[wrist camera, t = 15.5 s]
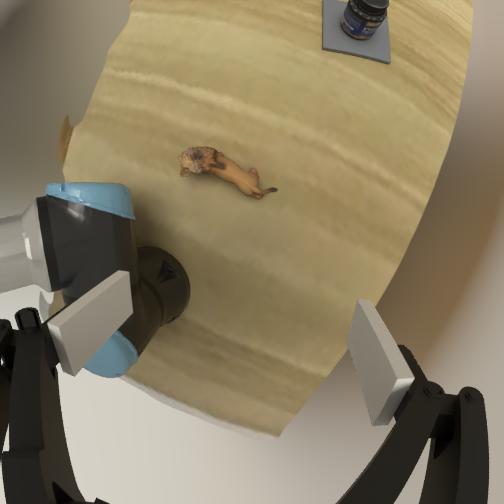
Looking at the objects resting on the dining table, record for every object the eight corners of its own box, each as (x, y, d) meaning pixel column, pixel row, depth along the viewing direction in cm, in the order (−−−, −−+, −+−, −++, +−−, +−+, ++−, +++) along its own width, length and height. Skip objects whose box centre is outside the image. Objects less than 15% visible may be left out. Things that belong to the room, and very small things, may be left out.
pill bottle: (359, 46, 34) (379, 18, 24) (332, 24, 33) (344, -9, 23) (379, 31, 32) (401, 3, 22) (353, 9, 32) (368, -22, 21)
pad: (322, 49, 36) (323, 47, 35) (322, 0, 32) (323, -2, 31) (388, 64, 35) (390, 62, 34) (385, 14, 32) (386, 12, 31)
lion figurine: (188, 173, 44) (168, 175, 36) (199, 143, 43) (180, 138, 34) (271, 204, 45) (269, 212, 36) (283, 173, 43) (284, 174, 34)
